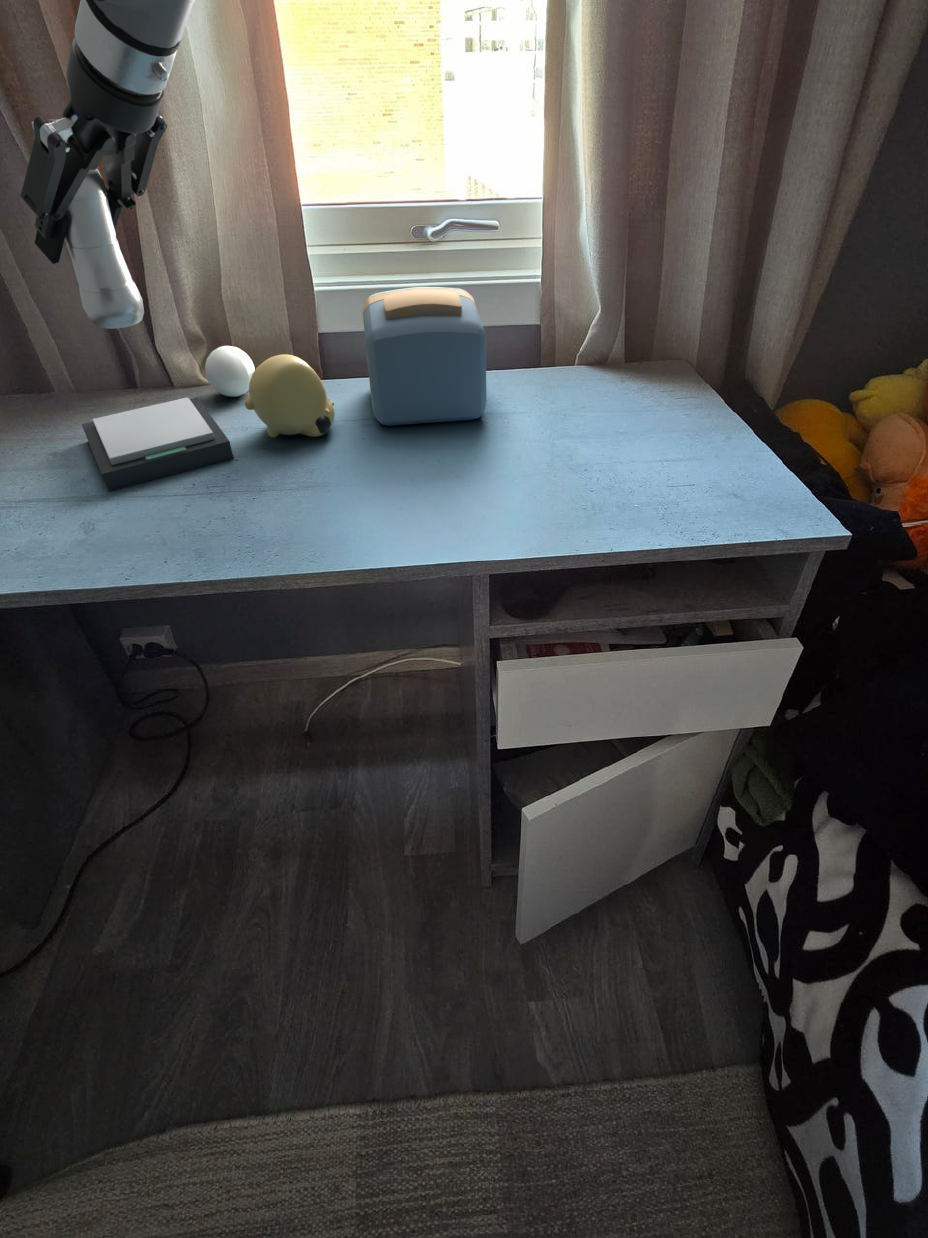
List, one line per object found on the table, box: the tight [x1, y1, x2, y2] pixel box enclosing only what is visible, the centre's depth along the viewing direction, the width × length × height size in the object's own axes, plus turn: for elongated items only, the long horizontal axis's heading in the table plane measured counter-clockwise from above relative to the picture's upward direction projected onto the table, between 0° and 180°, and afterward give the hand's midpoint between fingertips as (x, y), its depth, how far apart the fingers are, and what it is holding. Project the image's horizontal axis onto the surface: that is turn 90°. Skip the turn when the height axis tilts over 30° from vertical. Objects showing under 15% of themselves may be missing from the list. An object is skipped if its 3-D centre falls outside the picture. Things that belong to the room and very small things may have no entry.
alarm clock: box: [362, 286, 488, 427], centre depth 99 cm, size 16×16×16 cm
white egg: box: [204, 345, 257, 398], centre depth 106 cm, size 10×7×7 cm
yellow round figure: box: [244, 353, 336, 438], centre depth 95 cm, size 10×12×11 cm
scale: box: [81, 396, 235, 492], centre depth 93 cm, size 16×16×4 cm
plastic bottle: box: [31, 118, 145, 330], centre depth 76 cm, size 6×7×20 cm
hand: (73, 245), depth 78 cm, fingers closed on plastic bottle, 6 cm apart
